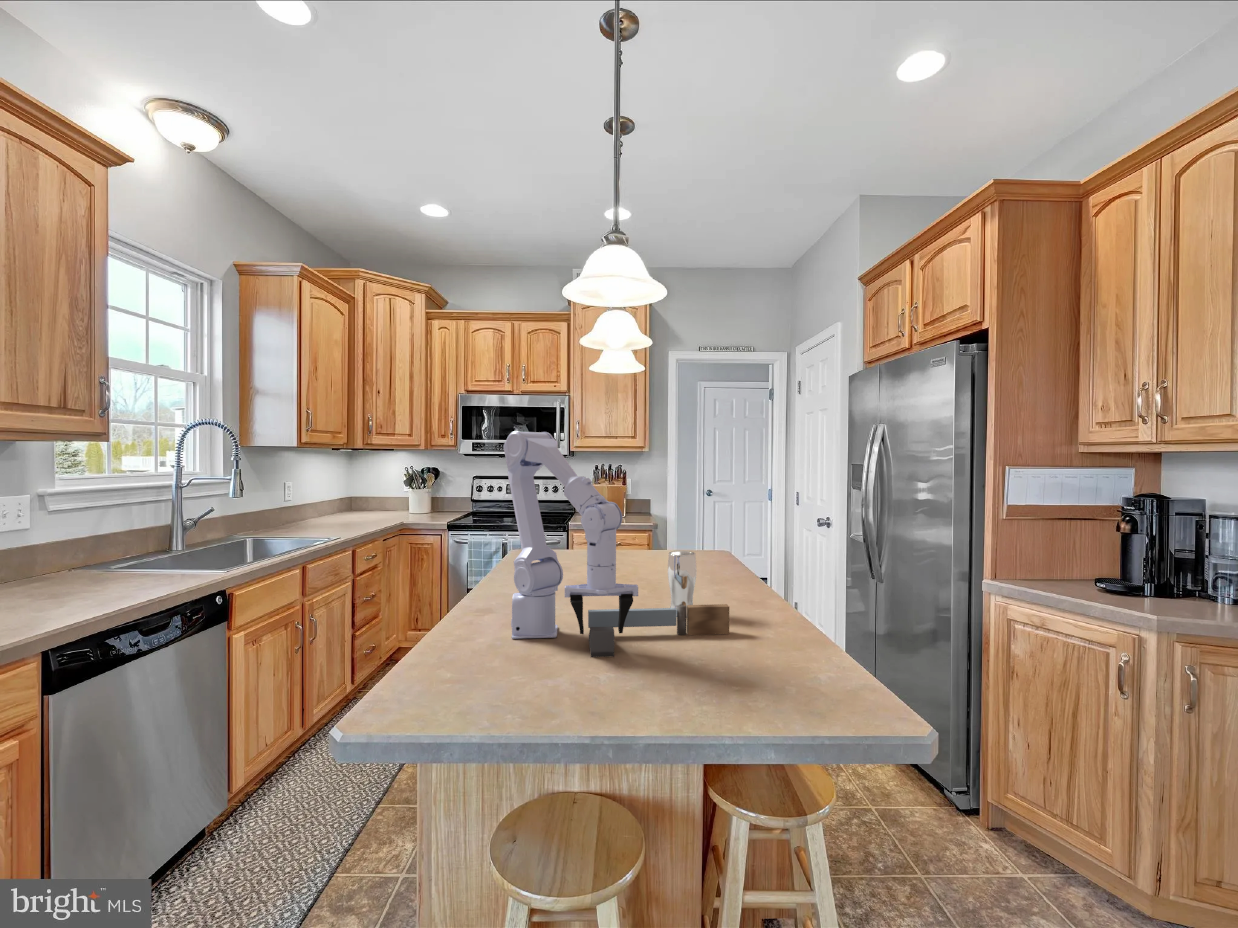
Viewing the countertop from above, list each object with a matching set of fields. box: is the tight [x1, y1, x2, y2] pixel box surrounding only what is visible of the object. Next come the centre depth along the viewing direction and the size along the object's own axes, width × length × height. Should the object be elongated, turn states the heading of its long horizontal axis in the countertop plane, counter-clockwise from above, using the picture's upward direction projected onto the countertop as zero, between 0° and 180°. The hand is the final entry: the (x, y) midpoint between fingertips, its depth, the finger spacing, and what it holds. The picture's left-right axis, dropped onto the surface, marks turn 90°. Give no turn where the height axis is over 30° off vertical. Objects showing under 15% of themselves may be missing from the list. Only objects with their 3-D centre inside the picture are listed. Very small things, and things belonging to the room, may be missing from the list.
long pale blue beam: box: [587, 607, 677, 629], centre depth 124 cm, size 19×2×4 cm, turn 95°
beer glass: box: [667, 550, 697, 619], centre depth 140 cm, size 7×7×15 cm
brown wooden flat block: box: [676, 603, 730, 636], centre depth 125 cm, size 11×2×6 cm, turn 95°
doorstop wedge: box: [588, 626, 615, 658], centre depth 116 cm, size 10×4×5 cm, turn 6°
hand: (601, 632), depth 114 cm, fingers open, 7 cm apart
